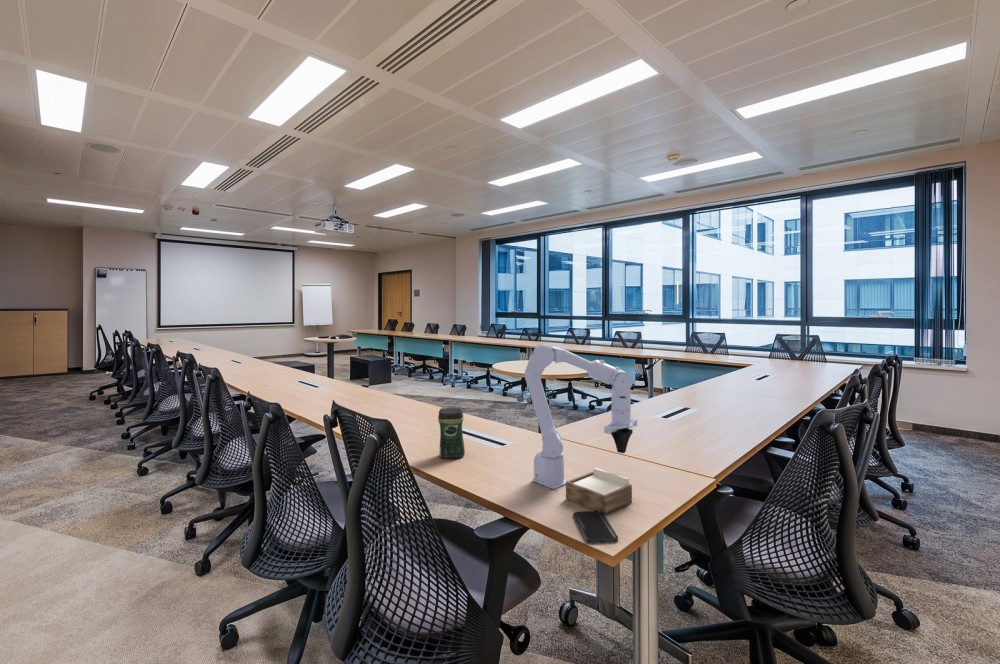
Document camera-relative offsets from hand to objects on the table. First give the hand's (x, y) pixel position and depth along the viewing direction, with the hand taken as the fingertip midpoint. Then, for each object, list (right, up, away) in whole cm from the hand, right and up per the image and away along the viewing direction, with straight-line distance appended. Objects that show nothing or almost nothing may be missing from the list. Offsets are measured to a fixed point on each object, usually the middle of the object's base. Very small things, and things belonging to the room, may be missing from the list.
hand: (621, 452), depth 139 cm
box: (-10, -11, -12) cm, 19 cm away
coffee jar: (-56, -10, +30) cm, 65 cm away
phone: (-14, -12, -27) cm, 33 cm away
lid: (-9, -7, -12) cm, 16 cm away
